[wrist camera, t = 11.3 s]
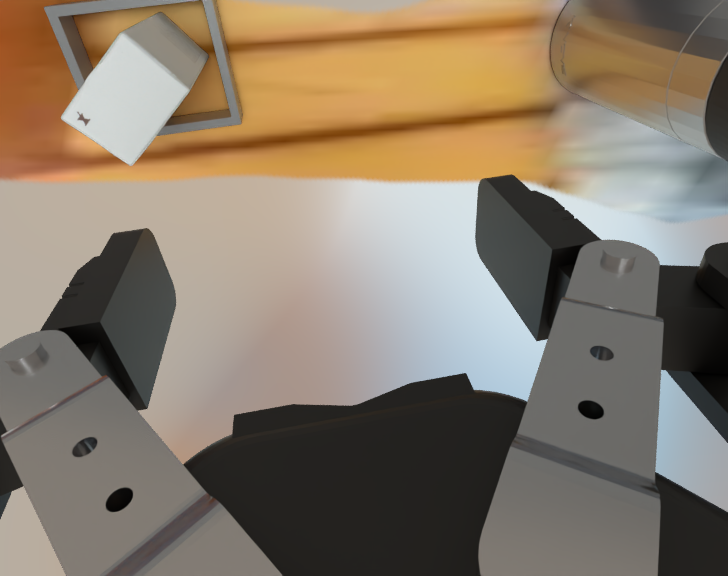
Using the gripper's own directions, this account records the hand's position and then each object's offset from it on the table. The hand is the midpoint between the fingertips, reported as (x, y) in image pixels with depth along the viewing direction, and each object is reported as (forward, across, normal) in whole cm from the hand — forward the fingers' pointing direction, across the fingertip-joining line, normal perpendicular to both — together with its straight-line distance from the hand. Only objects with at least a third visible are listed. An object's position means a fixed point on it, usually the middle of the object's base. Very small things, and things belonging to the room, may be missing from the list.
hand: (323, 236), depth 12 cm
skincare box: (+30, +9, 0) cm, 31 cm away
